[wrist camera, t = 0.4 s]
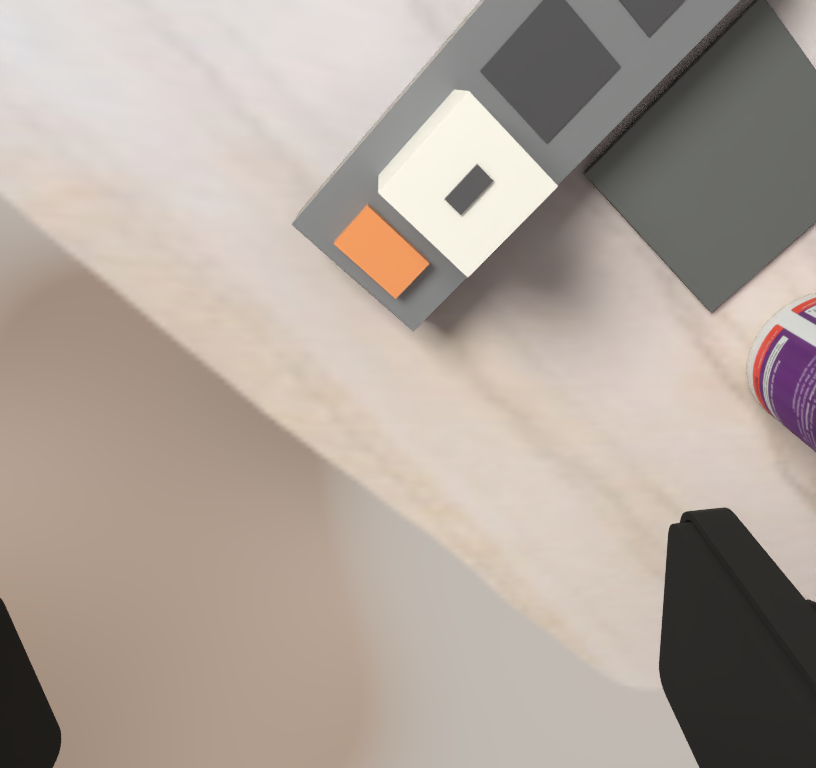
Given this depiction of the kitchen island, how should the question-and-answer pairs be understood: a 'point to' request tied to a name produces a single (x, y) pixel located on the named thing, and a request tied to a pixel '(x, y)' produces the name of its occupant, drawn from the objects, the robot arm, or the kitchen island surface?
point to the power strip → (501, 120)
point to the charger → (464, 182)
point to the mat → (722, 159)
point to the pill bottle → (787, 368)
